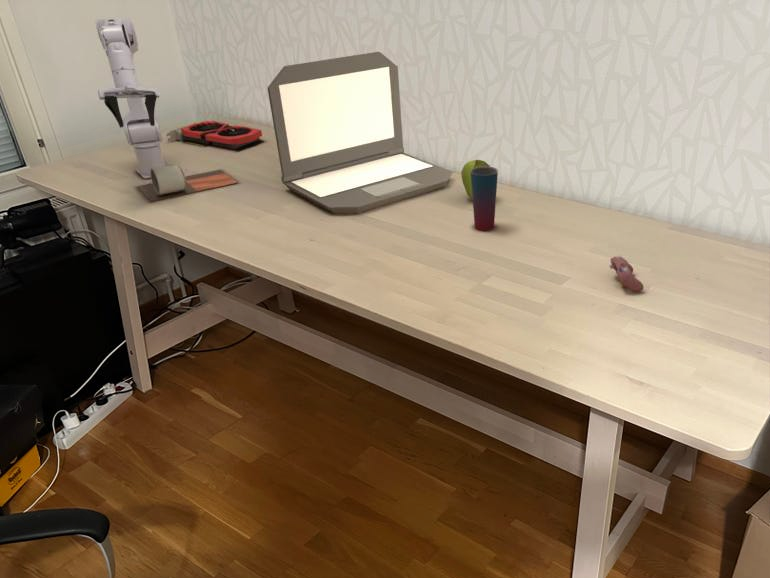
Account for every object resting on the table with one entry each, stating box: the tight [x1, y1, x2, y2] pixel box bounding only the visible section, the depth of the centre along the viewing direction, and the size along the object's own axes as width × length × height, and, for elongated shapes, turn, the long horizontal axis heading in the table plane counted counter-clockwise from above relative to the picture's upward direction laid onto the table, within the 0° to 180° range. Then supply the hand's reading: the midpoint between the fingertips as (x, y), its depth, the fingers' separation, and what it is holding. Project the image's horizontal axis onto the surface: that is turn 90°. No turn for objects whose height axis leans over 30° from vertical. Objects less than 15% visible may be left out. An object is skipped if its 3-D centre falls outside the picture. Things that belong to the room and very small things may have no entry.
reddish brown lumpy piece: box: [609, 255, 644, 293], centre depth 152 cm, size 10×5×7 cm, turn 5°
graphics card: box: [165, 120, 265, 152], centre depth 244 cm, size 20×32×4 cm, turn 57°
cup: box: [471, 165, 499, 232], centre depth 176 cm, size 7×7×15 cm
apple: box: [461, 159, 491, 201], centre depth 193 cm, size 9×8×12 cm
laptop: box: [267, 51, 454, 215], centre depth 196 cm, size 43×31×34 cm
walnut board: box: [137, 169, 238, 203], centre depth 208 cm, size 15×25×1 cm, turn 126°
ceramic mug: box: [150, 165, 187, 195], centre depth 201 cm, size 11×8×8 cm
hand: (137, 125), depth 184 cm, fingers open, 7 cm apart
